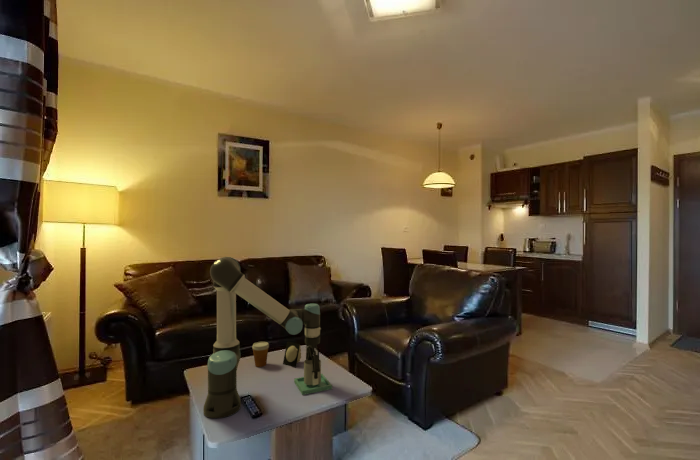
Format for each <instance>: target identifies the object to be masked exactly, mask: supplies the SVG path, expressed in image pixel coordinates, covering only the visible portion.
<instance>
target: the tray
mask: <svg viewBox="0 0 700 460" xmlns="http://www.w3.org/2000/svg"><path fill="white" fill-rule="evenodd" d="M293 382H294V384H295V385H296V388H297V389H298V390H299V392H300V394H301V395H302V396H304V395H308V394H313V393H319V392H323V391H329V390H332V389H333V384H332V383H331V382H330V381H329V380H328V378H327V377H325V375H324V374H323V373H321V382H320V383H319V384H318V385H307V384H305V383H304V376H300V377H296V378H294V379H293Z"/></svg>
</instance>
